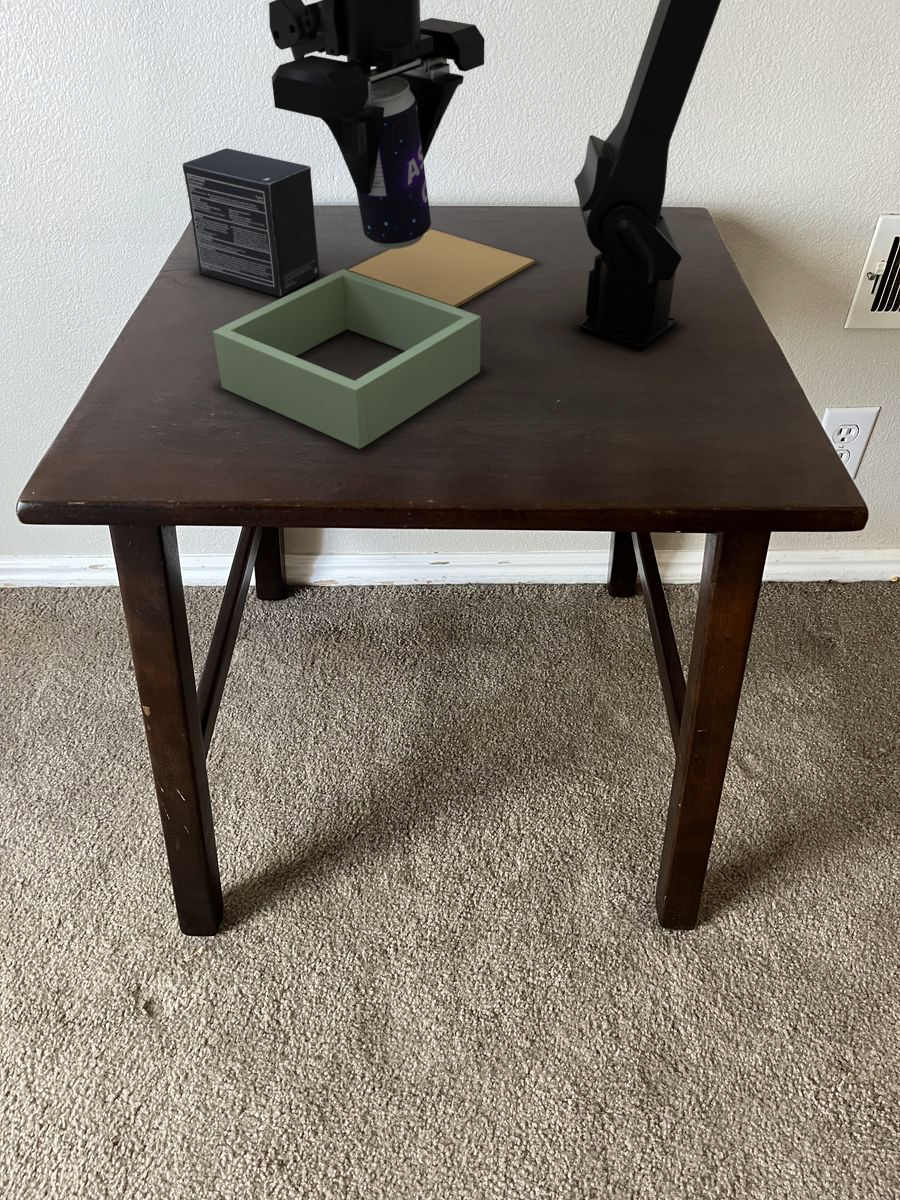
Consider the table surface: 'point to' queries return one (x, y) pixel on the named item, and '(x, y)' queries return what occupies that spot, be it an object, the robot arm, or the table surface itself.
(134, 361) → the table surface
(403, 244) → the beverage can
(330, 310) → the frame
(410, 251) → the mat
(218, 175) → the small box
